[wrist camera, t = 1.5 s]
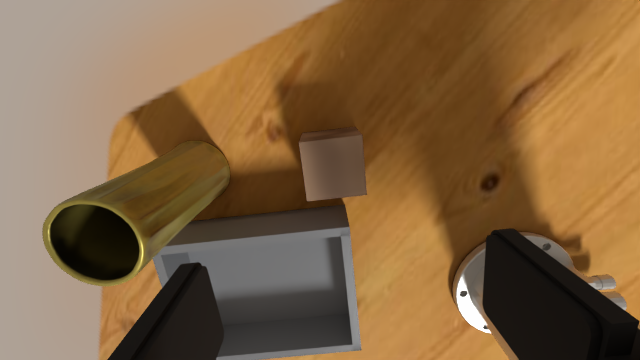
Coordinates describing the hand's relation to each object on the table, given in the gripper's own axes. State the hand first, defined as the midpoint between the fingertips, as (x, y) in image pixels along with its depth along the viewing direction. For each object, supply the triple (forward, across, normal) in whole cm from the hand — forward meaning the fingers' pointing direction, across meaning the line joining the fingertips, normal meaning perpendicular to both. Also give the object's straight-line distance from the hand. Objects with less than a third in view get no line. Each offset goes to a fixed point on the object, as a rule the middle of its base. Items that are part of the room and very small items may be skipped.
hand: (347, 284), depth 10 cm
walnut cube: (+20, 0, 0) cm, 20 cm away
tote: (+20, +8, +12) cm, 24 cm away
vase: (+20, +13, 0) cm, 24 cm away
